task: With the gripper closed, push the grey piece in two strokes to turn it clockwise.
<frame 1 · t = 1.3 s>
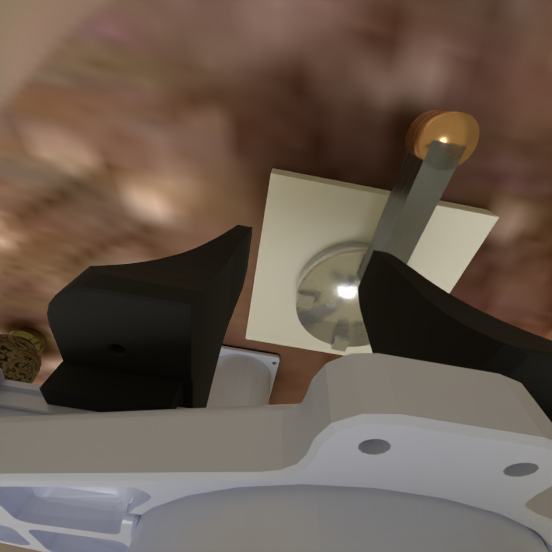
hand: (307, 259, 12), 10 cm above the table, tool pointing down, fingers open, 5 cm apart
cap plate: (347, 278, 25), on the table
cup: (33, 335, 32), on the table
grey piece: (376, 260, 19), point 4 cm above the table, hinge at 0.0°
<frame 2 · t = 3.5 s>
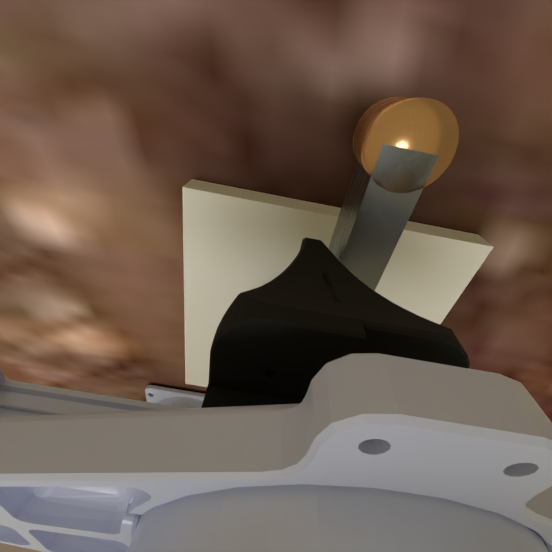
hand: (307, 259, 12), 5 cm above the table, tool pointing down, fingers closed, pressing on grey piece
cap plate: (304, 315, 20), on the table
grey piece: (326, 306, 14), point 4 cm above the table, hinge at 0.4°, touching gripper
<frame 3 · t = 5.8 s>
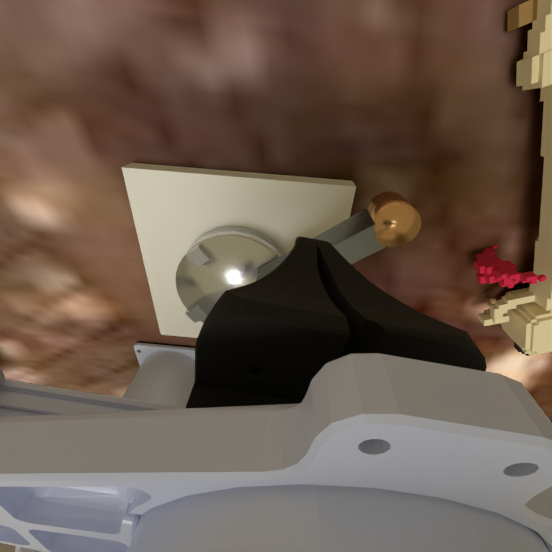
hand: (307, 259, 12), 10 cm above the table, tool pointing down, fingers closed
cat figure: (534, 207, 21), on the table
cap plate: (242, 265, 25), on the table
grey piece: (280, 268, 20), point 4 cm above the table, hinge at 52.3°
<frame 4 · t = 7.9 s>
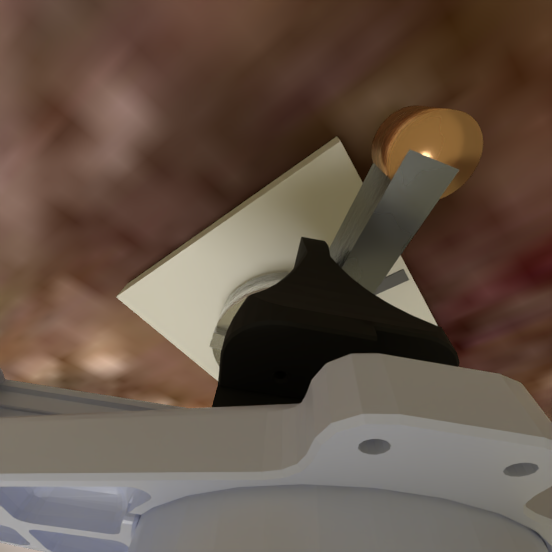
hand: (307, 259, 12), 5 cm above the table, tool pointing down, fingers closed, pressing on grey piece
cap plate: (289, 312, 20), on the table
grey piece: (318, 304, 14), point 4 cm above the table, hinge at 54.1°, touching gripper
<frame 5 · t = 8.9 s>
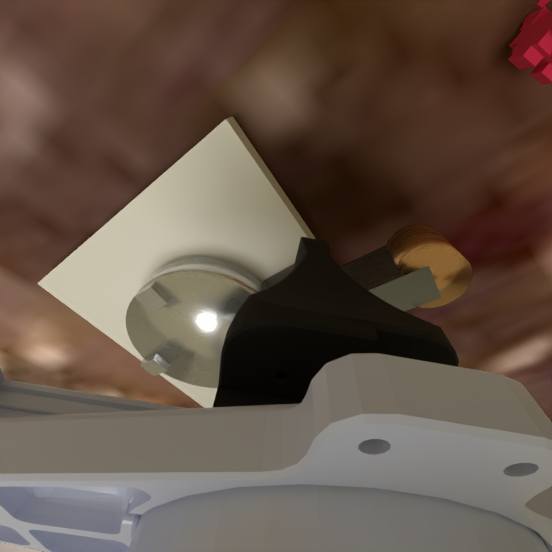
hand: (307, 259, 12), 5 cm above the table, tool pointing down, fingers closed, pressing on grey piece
cap plate: (219, 300, 19), on the table
grey piece: (264, 317, 15), point 4 cm above the table, hinge at 92.8°, touching gripper
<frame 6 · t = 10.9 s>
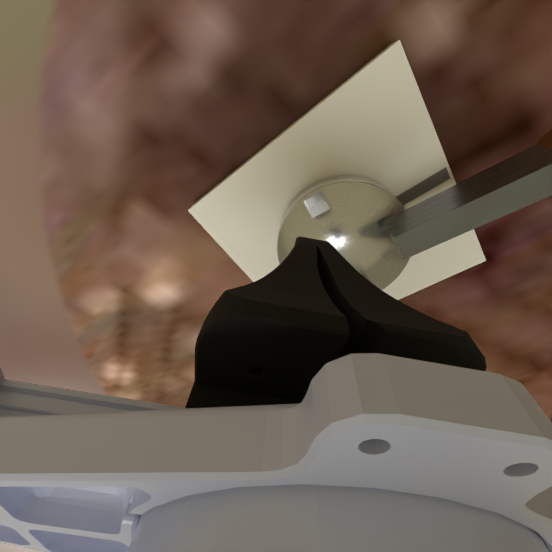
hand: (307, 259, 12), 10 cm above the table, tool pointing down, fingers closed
cap plate: (337, 227, 22), on the table
grey piece: (409, 221, 17), point 4 cm above the table, hinge at 93.9°
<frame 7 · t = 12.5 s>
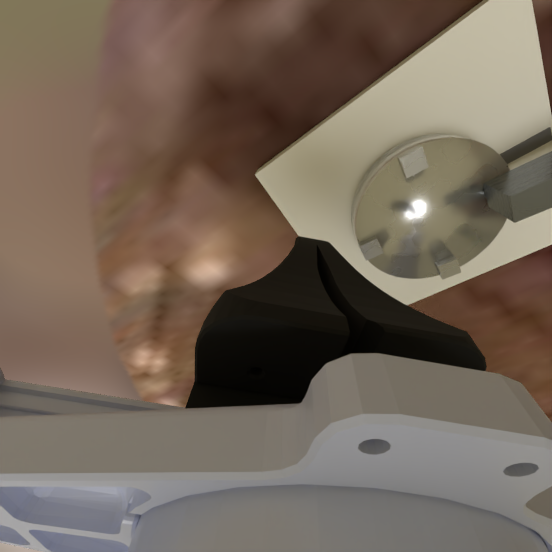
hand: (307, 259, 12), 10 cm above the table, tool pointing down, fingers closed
cap plate: (409, 198, 20), on the table
grey piece: (513, 183, 16), point 4 cm above the table, hinge at 93.9°
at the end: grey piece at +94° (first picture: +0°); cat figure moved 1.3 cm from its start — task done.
